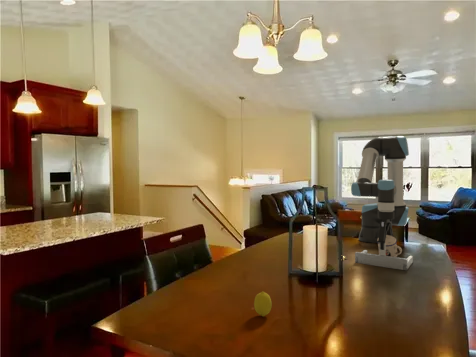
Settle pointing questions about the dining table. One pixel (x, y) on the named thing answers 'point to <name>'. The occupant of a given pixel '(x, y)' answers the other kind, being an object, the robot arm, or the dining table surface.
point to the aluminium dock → (383, 260)
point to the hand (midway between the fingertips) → (385, 253)
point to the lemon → (262, 304)
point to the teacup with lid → (391, 246)
